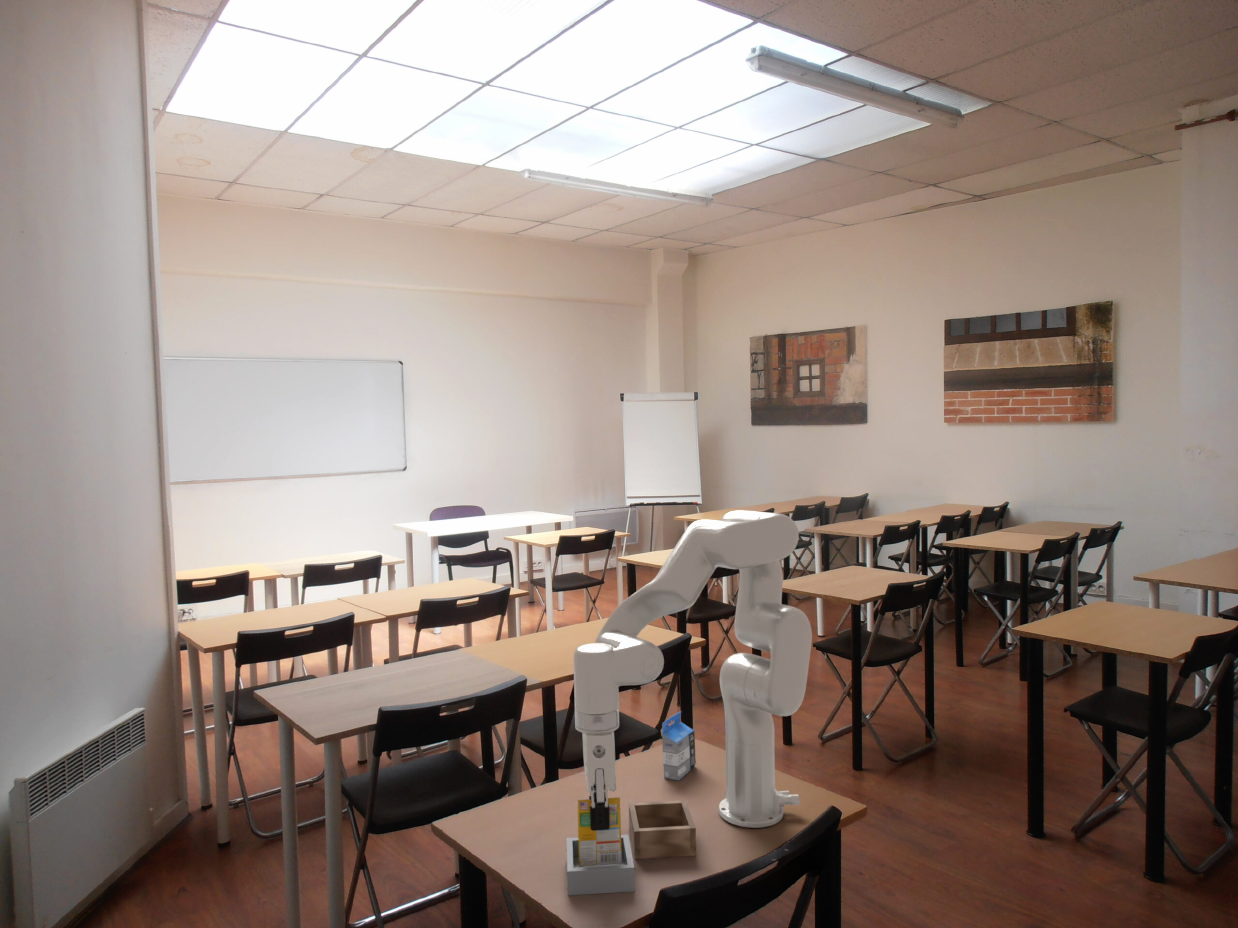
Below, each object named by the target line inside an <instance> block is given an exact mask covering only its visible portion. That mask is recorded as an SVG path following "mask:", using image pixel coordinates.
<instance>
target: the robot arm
mask: <svg viewBox="0 0 1238 928" xmlns="http://www.w3.org/2000/svg"><path fill="white" fill-rule="evenodd" d="M799 536H800V533H799V529H798V526H797V524H796V522H795V521H794V520H793V519H792V518H791V517H789V515H786V514H783V513H778V512H768V511H766V512H765V511H760V510H759V511H757V510H750V509H749V510H748V509H747V510H746V509H737V510H731V511H729V512H728V511H727V513H725V514H724V515H723V516H722V517H721V520H718V519H707V518H706V519H705V518H704V519H697V520H695V521H693V522H692V523H691V524H689V525H688V526H687V528H686V529H685V531H684V532H683V534H682V535H681V537H680V538H679V540H678V541H677V543H676V545H675V546H674V547H673V549H672V550H671V553H670V554H669V556H668V557H667V558H666V560H665V562H664V563H663V565H662V566H661V568H660V569H659V571H658V573H657V574H656V575H655V577H654V578H653V579H652V580H651V581H650V582H649V583H646V584H645V585H644V586H642V587H641V588H639V589H638V590H636V591H635V592H634V593H633V594H631V595H630V596H628V597H627V598H625V599H624V600H623V601H622V602H620V604H618V606H617V607H616V608H615V609H614V610H613V612H612V613H611V614H610V615H609V617H608V618H607V620H606V621H605V623H604V625H603V626H602V628H601V629H600V631H599V633H598V634H597V637H596V639H595V642H591V643H590V642H589V643H585V644H582V645H580V646H578V647H577V648H576V649H575V651H574V653H573V689H574V690H573V691H574V692H573V693H574V727H575V730H577V732H580V733H582V754H583V755H582V756H583V769H584V775H585V782H586V787H587V791H588V793H590V795H589V796H588V799H591V803H592V806H590V825H591V830H592V831H595V830H608V829H609V828H610V821H609V805H608V798H609V797H608V796H609V795H608V794H609V793H608V792H609V791H610V792H611V791H612V792H613V793H614V792H615V791H616V790H617V778H616V777H617V776H616V775H617V774H616V749H615V748H616V747H615V745H616V744H615V731H616V730H618V729H619V728H620V706H619V704H620V703H619V701H620V698H619V696H620V695H619V693H620V692H619V687H621V686H639V685H646V684H649V683H651V682H653V681H655V680H656V679H657V678H659V676H660V674H661V673H662V671H663V670H664V667H665V666H664V664H665V659H664V655H663V652H662V650H661V649H660V648H659V647H658V645H656V644H655V643H653V642H651V641H648V640H646V639H642V638H640V637H638V635H639V634H640V633H641V632H642V630H643V629H645V628H646V627H647V626H648V625H649V624H650V623H652V622H654V621H655V620H659V619H660V618H662V617H666V616H669V615H671V614H676V613H678V612H682V611H685V610H687V609H690V608H691V607H692V606H694V604H695V603H696V602H697V600H698V598H699V597H700V595H701V593H702V591H703V590H704V588H705V586H706V585H707V583H708V581H709V580H710V579H711V578H712V575H713V574H714V572H715V570H716V569H717V568H725V569H731V570H738V571H739V582H738V583H739V584H738V592H737V599H736V608H735V613H734V626H733V628H734V635H735V638H736V639H737V640H738V641H739V642H740V644H742V645H745V646H747V647H750V648H753V649H755V650H760V651H763V652H766V653H770V658H767V657H764V656H760V655H757V654H754V653H749V652H737V653H733V654H732V655H729V657H727V658H726V659H725V660H724V662H723V663H722V665H721V667H720V672H719V687H720V692H721V696H722V701H723V706H724V707H723V709H724V717H725V718H724V719H725V783H726V784H725V785H726V787H725V788H726V792H725V794H726V796H725V798H723V799H722V800H721V801H719V804H718V813H719V815H720V817H721V818H722V819H723V820H725V821H726V822H728V823H730V824H732V825H733V826H739V827H742V828H753V829H757V828H766V827H771V826H774V825H776V824H778V823H779V822H781V820H782V819H783V817H784V806H787V805H789V806H799V805H800V803H801V802H800V801H801V800H800V796H799V794H797V793H794V794H790V791H789V790H781V791H778V789H776V777H775V775H776V773H775V772H776V769H775V768H776V767H775V766H776V765H775V761H776V760H775V753H776V752H775V724H774V719H773V715H776V716H779V717H788V716H789V717H790V716H791V715H793V714H796V712H797V711H798V710H799V709H800V707H801V705H802V703H803V701H804V698H805V694H806V688H807V682H808V674H809V666H810V659H811V650H812V649H811V648H812V641H813V634H812V633H813V632H812V627H811V622H810V621H809V618H808V616H807V615H806V613H805V612H804V611H802V610H801V609H799V608H797V607H796V606H795V607H794V606H792V605H788V604H782V600H783V599H782V598H783V584H784V574H783V570H782V566H781V564H780V560H783V559H786V558H787V557H789V556H790V555H791V554H792V553H793V552H794V551H795V549H796V547H797V545H798V543H799V538H800V537H799ZM772 714H773V715H772Z"/></svg>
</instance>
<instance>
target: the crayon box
mask: <svg viewBox="0 0 1238 928" xmlns="http://www.w3.org/2000/svg"><path fill="white" fill-rule="evenodd" d="M576 804H577V837H578V843H579V866H580V867H584V866H595V865H610V864H621V863H622V852H621V835H622V822H621V819H622V818H621V817H622V816H621V797H608V805H609V821H610V828H609V829H608V830H595V831H592V830H591V825H590V806H592V803H591V799H589V798H588V799H578V800H577V803H576Z"/></svg>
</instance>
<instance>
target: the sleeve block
mask: <svg viewBox="0 0 1238 928" xmlns="http://www.w3.org/2000/svg"><path fill="white" fill-rule="evenodd" d="M696 828H697V827H696V825H695V822H694V819H693V817H692V813H691V811H690V808H689V805H688V803H687V800H686V799H685V800H665V801H648V802H647V801H646V802H628V830H629V834H630V836H629V837H630V841H631V848H632V850H633V851H632V852H633V858H634V860H642V859H644V860H645V859H646V860H647V859H659V858H661V859H662V858H677V857H678V858H679V857H680V858H681V857H695V856H697V840H696V839H697V834H696V832H697V830H696Z"/></svg>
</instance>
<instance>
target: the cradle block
mask: <svg viewBox="0 0 1238 928" xmlns="http://www.w3.org/2000/svg"><path fill="white" fill-rule="evenodd" d="M630 841H631V840H630V836H629V834H621V852H622V863H621V864H610V865H595V866H584V867H580V866H579V843H578V836H577V837H566V867H567V868H566V870H567V871H566V873H567V876H566V878H567V896H582V895H597V894H598V895H599V894H610V893H611V894H613V893H614V894H615V893H617V894H618V893H631V892H635V891H636V889H635V888H636V887H635V882H636V881H635V864H634V859H633V858H634V857H633V853H632V852H633V851H632V849H631V848H632V846H631V842H630Z"/></svg>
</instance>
